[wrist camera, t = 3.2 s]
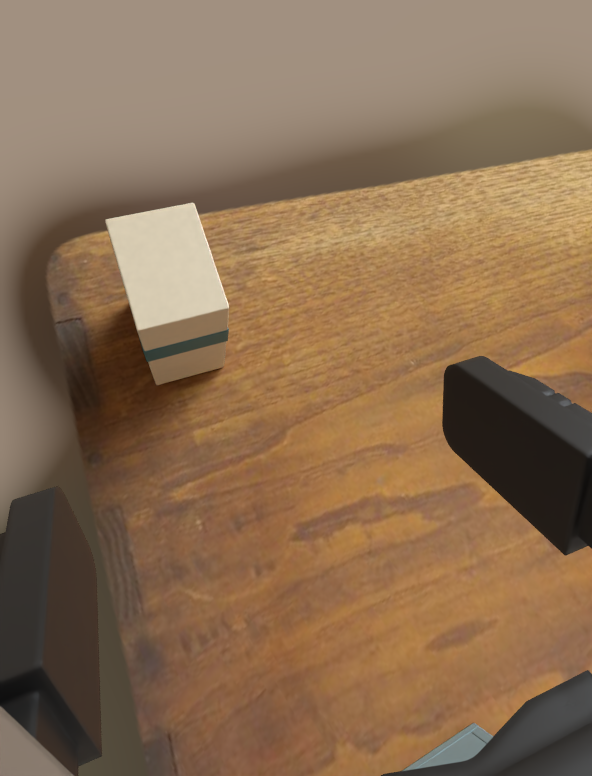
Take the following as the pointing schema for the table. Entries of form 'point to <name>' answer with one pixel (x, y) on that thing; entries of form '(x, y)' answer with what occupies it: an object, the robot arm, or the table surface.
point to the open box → (455, 748)
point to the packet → (172, 290)
